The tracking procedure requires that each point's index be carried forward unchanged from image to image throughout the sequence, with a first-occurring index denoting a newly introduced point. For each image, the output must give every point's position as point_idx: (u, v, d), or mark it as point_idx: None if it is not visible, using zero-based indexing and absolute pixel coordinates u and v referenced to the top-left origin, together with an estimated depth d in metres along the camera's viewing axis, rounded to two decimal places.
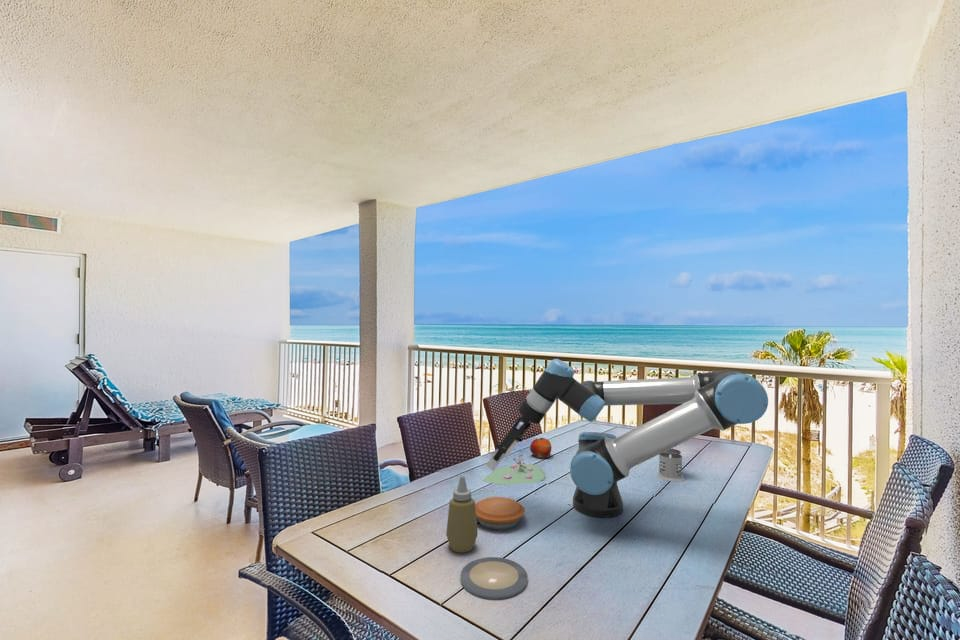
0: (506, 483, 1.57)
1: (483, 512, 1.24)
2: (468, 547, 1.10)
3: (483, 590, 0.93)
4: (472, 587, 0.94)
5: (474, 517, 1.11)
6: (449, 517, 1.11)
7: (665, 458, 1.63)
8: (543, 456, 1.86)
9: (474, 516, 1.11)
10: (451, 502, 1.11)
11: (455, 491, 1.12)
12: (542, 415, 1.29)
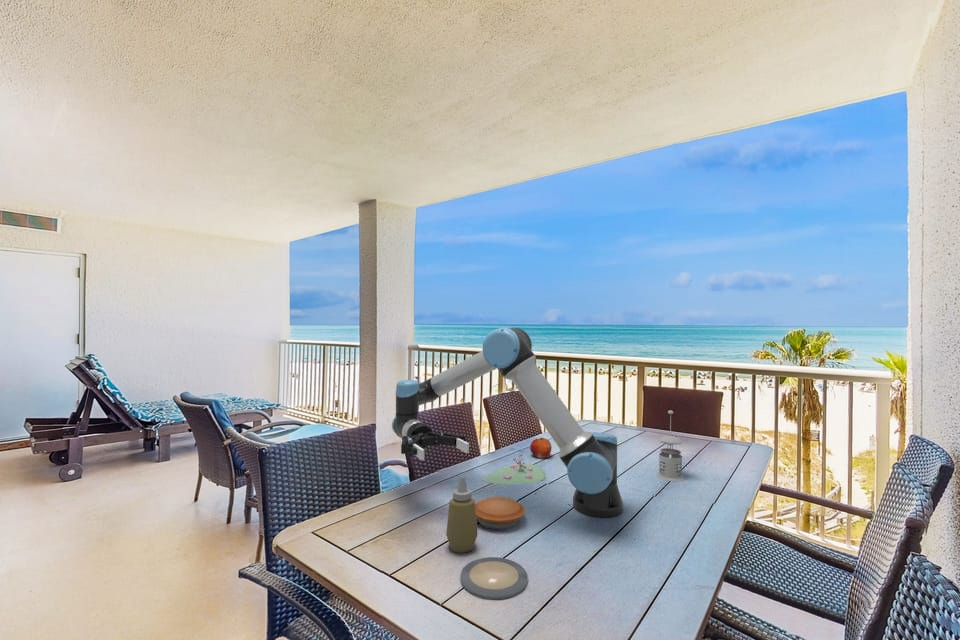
0: (506, 483, 1.57)
1: (483, 512, 1.24)
2: (468, 547, 1.10)
3: (483, 590, 0.93)
4: (472, 587, 0.94)
5: (474, 517, 1.11)
6: (449, 517, 1.11)
7: (665, 458, 1.63)
8: (543, 456, 1.86)
9: (474, 516, 1.11)
10: (451, 502, 1.11)
11: (455, 491, 1.12)
12: (414, 424, 1.38)
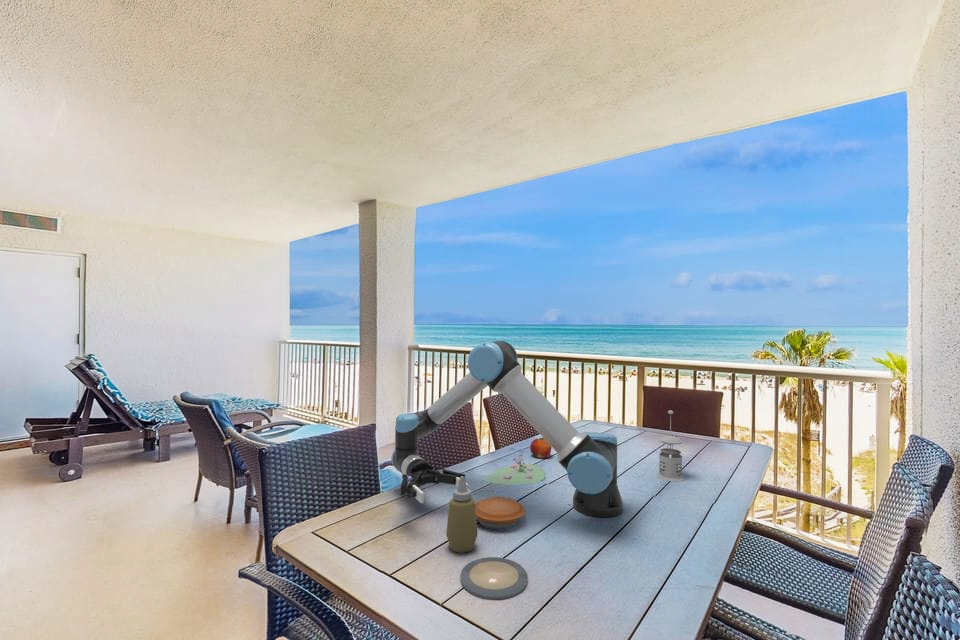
0: (506, 483, 1.57)
1: (483, 512, 1.24)
2: (468, 547, 1.10)
3: (483, 590, 0.93)
4: (472, 587, 0.94)
5: (474, 517, 1.11)
6: (449, 517, 1.11)
7: (665, 458, 1.63)
8: (543, 456, 1.86)
9: (474, 516, 1.11)
10: (451, 502, 1.11)
11: (455, 491, 1.12)
12: (413, 461, 1.38)
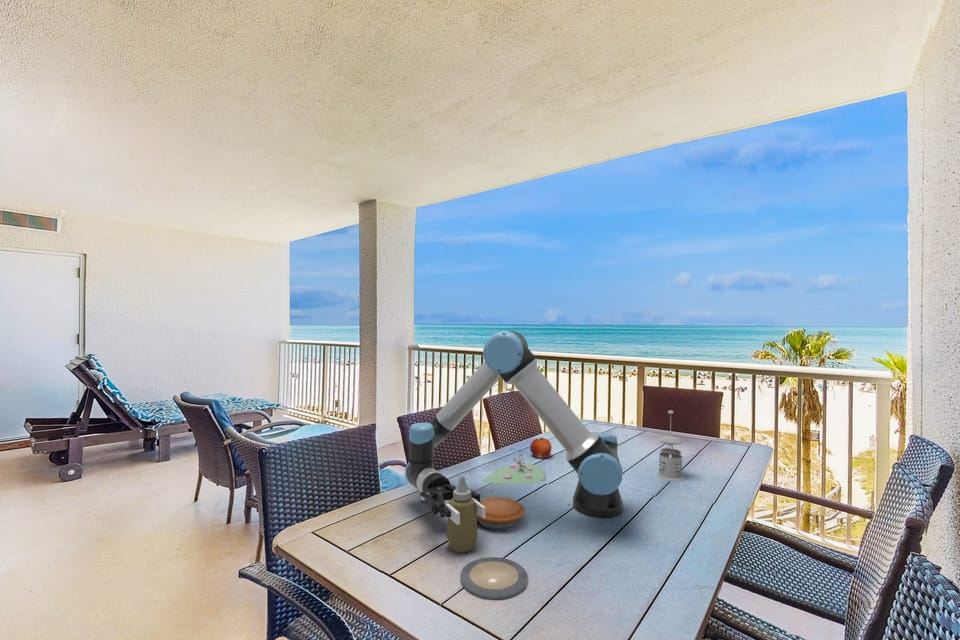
0: (506, 483, 1.57)
1: None
2: (468, 547, 1.10)
3: (483, 590, 0.93)
4: (472, 587, 0.94)
5: (474, 517, 1.11)
6: None
7: (665, 458, 1.63)
8: (543, 456, 1.86)
9: (474, 516, 1.11)
10: (451, 502, 1.11)
11: (455, 491, 1.12)
12: (430, 475, 1.27)
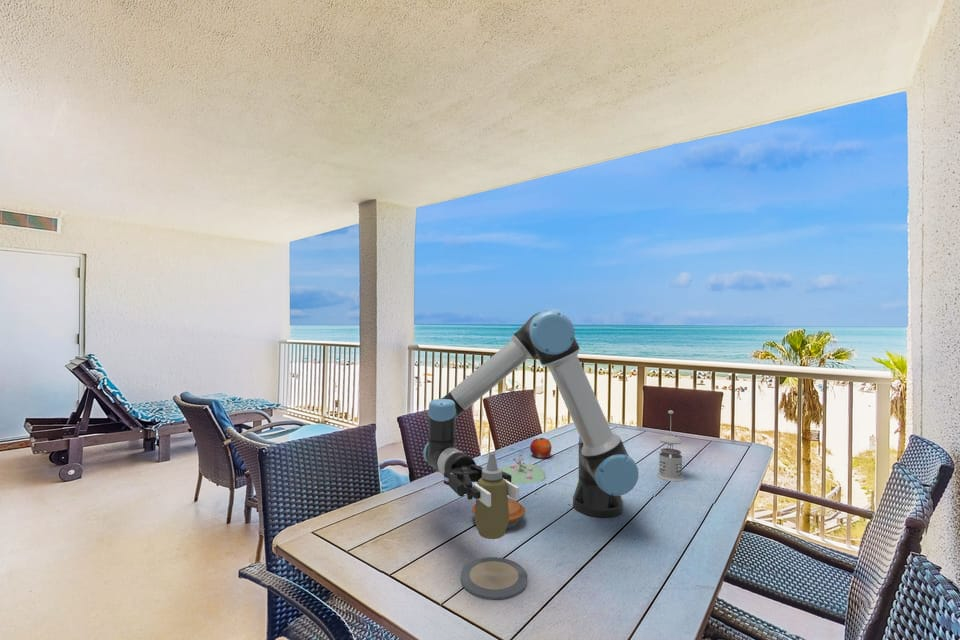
0: None
1: None
2: (499, 533, 0.96)
3: (483, 590, 0.93)
4: (472, 587, 0.94)
5: (506, 499, 0.98)
6: None
7: (665, 458, 1.63)
8: (543, 456, 1.86)
9: (506, 498, 0.98)
10: (480, 482, 0.98)
11: (484, 470, 0.99)
12: (453, 455, 1.14)
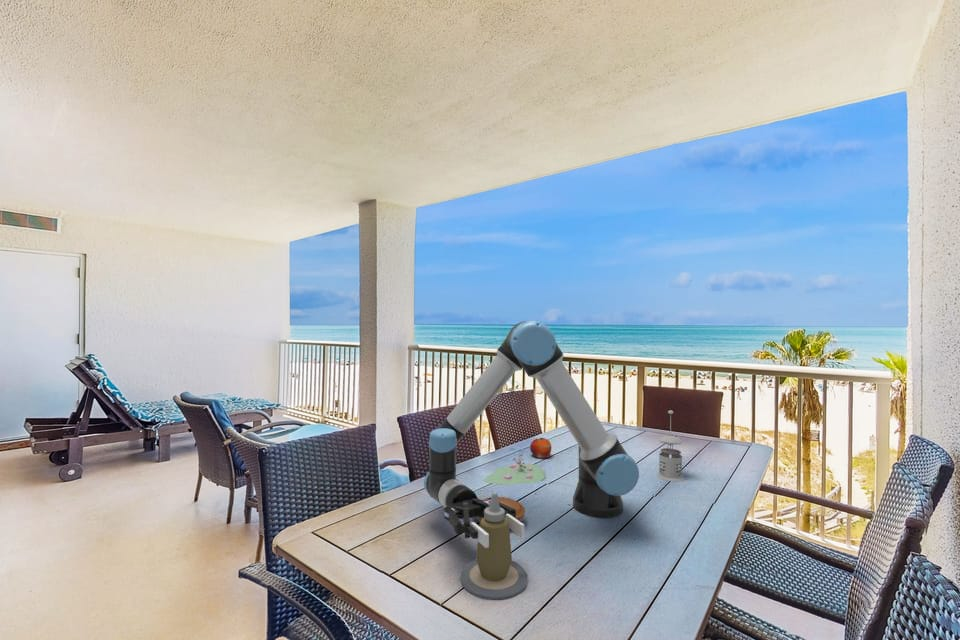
0: (507, 483, 1.57)
1: None
2: (502, 575, 0.96)
3: (483, 590, 0.93)
4: (472, 587, 0.94)
5: (508, 540, 0.97)
6: None
7: (665, 458, 1.63)
8: (543, 456, 1.86)
9: (508, 539, 0.97)
10: (482, 523, 0.98)
11: (486, 510, 0.99)
12: (454, 488, 1.13)
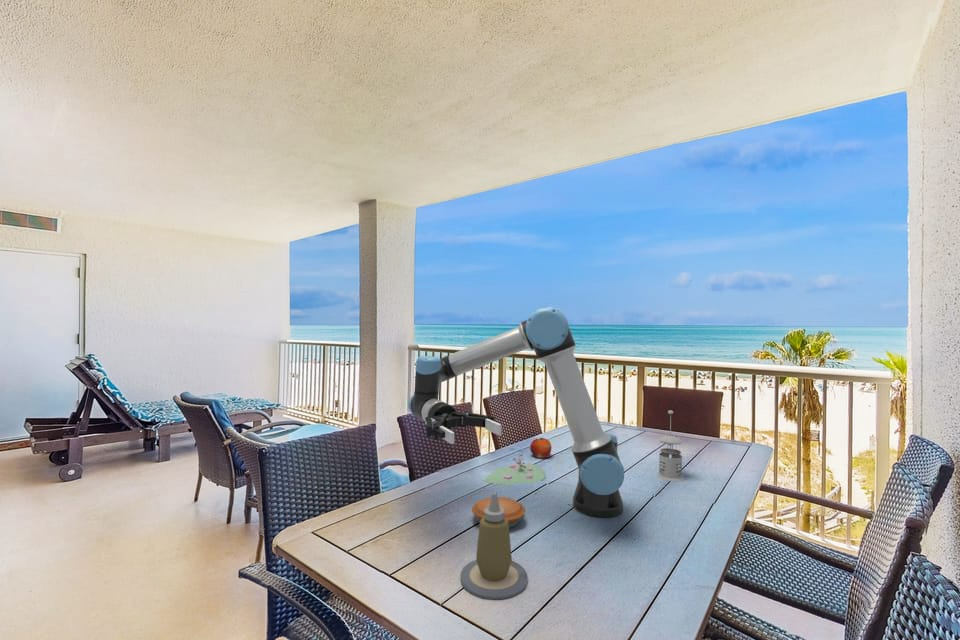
0: (507, 483, 1.57)
1: (483, 512, 1.23)
2: (502, 575, 0.96)
3: (483, 590, 0.93)
4: (472, 587, 0.94)
5: (508, 540, 0.97)
6: (480, 540, 0.97)
7: (665, 458, 1.63)
8: (543, 456, 1.86)
9: (508, 539, 0.97)
10: (482, 523, 0.98)
11: (486, 510, 0.99)
12: (435, 404, 1.25)
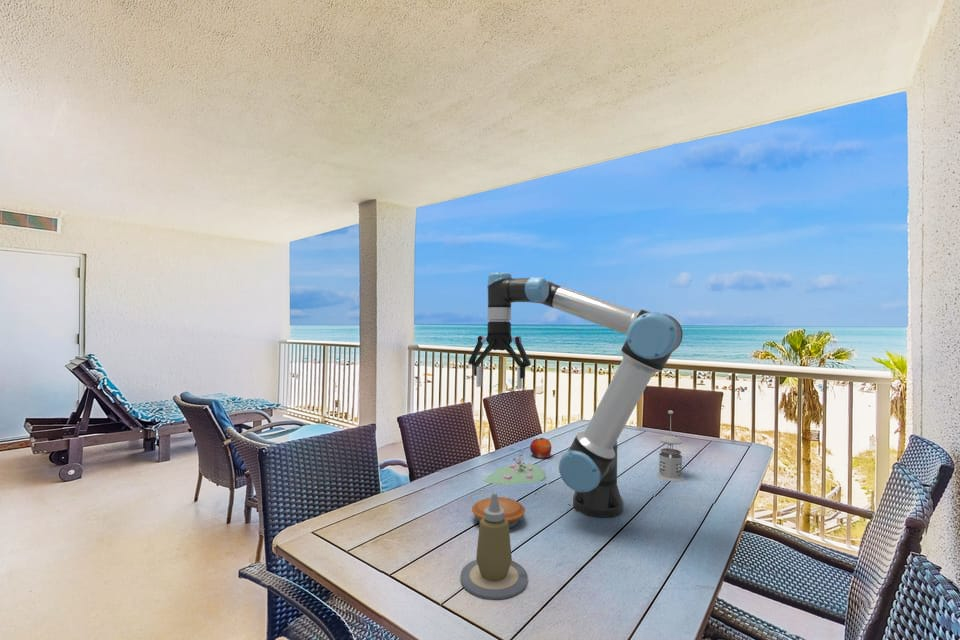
0: (507, 483, 1.57)
1: (483, 512, 1.23)
2: (502, 575, 0.96)
3: (483, 590, 0.93)
4: (472, 587, 0.94)
5: (508, 540, 0.97)
6: (480, 540, 0.97)
7: (665, 458, 1.63)
8: (543, 456, 1.86)
9: (508, 539, 0.97)
10: (482, 523, 0.98)
11: (486, 510, 0.99)
12: (491, 323, 1.38)
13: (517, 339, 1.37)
